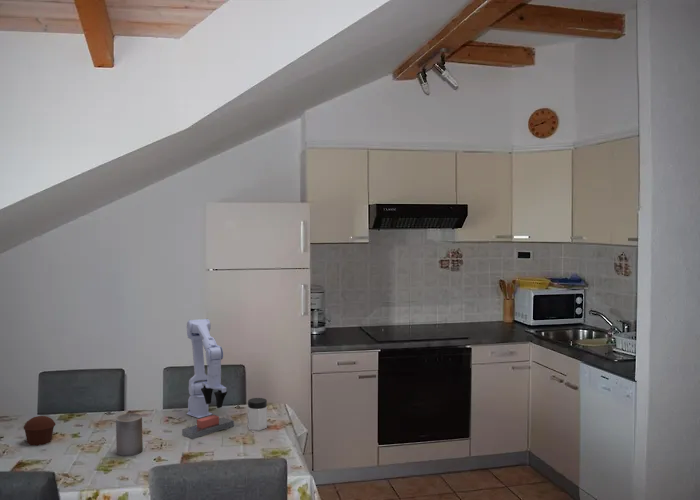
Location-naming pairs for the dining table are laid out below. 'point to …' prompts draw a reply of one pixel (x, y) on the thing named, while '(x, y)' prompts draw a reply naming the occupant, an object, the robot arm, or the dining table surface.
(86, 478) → the dining table surface
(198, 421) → the clip
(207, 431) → the rail
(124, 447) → the pillar candle
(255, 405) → the jar
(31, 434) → the muffin
